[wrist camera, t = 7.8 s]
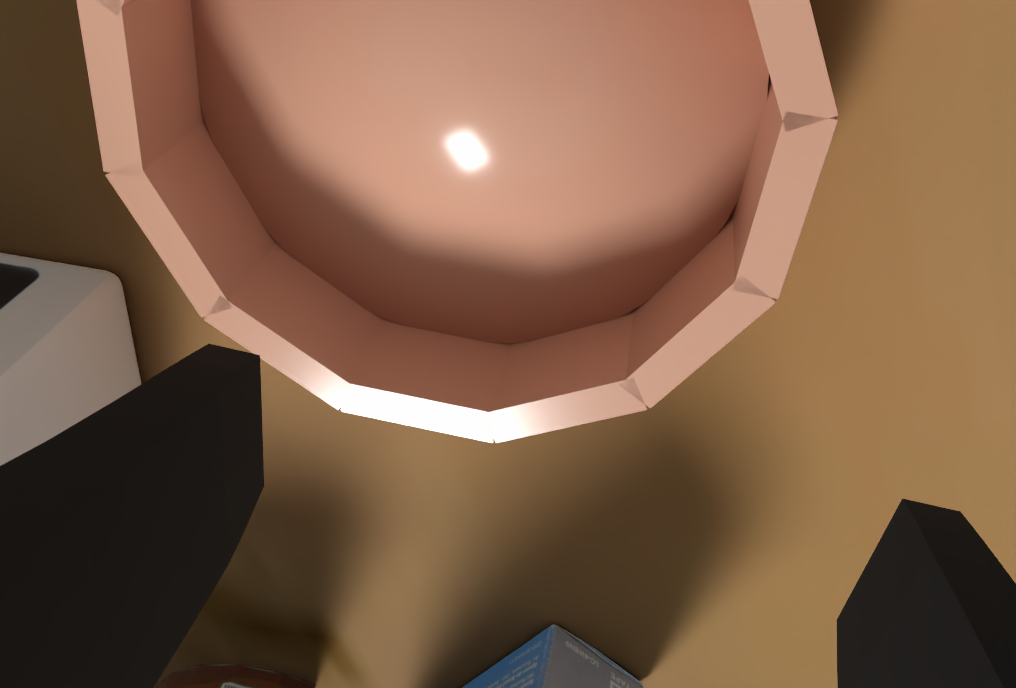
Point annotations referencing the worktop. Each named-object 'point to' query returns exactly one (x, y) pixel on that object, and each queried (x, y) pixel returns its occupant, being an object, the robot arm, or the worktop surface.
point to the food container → (230, 678)
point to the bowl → (468, 188)
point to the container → (59, 349)
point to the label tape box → (555, 666)
